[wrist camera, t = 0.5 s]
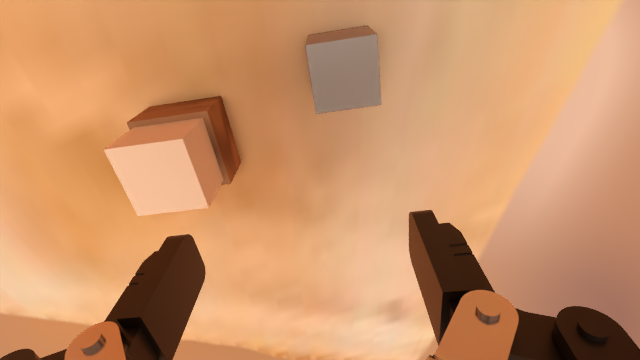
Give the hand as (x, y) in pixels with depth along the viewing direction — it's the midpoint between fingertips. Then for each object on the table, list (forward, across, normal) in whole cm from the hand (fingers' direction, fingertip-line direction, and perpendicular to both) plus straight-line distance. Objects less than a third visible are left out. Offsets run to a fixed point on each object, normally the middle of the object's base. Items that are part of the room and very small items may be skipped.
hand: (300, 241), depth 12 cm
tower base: (+21, +12, +3) cm, 25 cm away
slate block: (+21, -3, -2) cm, 21 cm away
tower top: (+17, +12, +3) cm, 21 cm away
